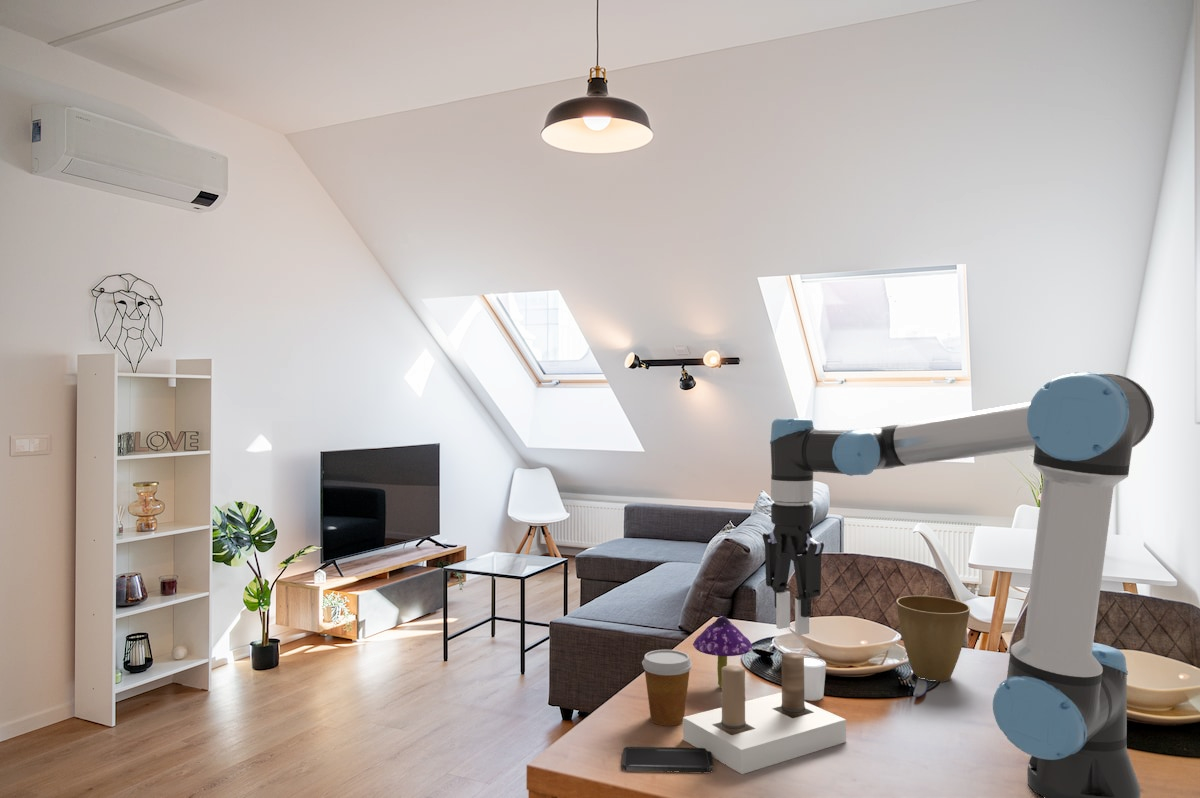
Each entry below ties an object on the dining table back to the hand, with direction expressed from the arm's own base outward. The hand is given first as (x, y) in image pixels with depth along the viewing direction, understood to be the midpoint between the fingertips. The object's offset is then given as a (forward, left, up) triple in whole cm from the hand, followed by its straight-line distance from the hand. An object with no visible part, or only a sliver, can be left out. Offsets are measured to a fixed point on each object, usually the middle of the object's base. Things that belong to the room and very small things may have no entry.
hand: (792, 630), depth 151 cm
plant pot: (+6, -47, -19) cm, 51 cm away
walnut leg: (0, 0, -19) cm, 19 cm away
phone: (+2, +26, -19) cm, 33 cm away
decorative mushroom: (+25, -4, -19) cm, 32 cm away
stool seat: (0, +7, -19) cm, 20 cm away
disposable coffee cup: (+17, +16, -19) cm, 30 cm away
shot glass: (+12, -16, -19) cm, 27 cm away
